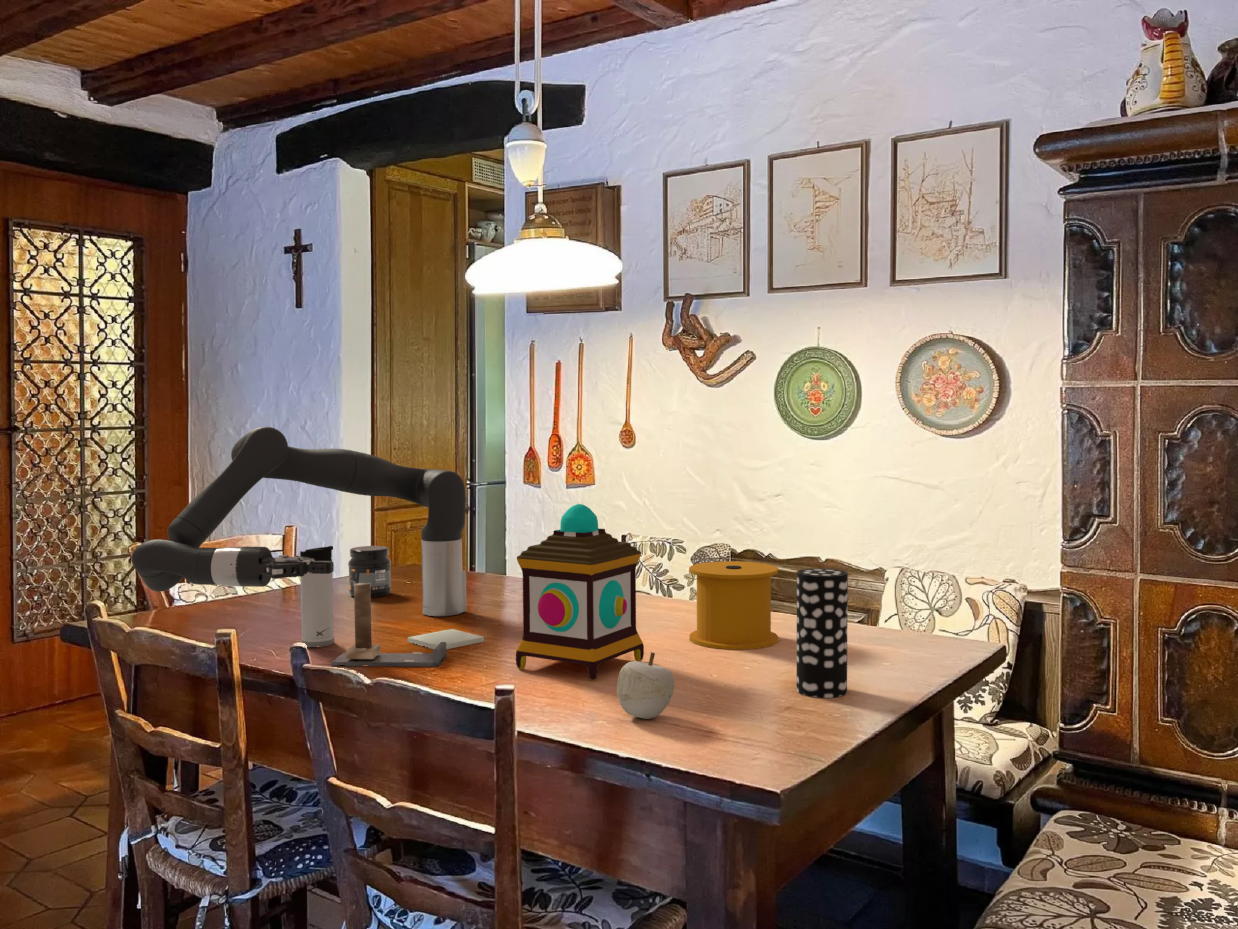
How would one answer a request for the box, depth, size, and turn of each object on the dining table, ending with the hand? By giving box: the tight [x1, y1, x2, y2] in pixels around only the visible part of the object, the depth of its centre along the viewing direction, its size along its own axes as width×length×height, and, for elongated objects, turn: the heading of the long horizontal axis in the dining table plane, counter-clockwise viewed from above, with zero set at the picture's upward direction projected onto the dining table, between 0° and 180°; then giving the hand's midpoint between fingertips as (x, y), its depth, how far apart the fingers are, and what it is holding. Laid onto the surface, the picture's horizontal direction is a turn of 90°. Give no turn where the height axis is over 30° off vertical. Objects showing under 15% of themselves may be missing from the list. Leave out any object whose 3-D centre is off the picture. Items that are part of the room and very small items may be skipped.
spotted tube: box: [796, 567, 849, 699], centre depth 175 cm, size 8×8×20 cm
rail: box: [331, 642, 448, 668], centre depth 198 cm, size 20×7×3 cm, turn 87°
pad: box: [407, 628, 485, 650], centre depth 214 cm, size 11×11×1 cm
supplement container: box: [347, 545, 392, 598], centre depth 267 cm, size 10×10×12 cm
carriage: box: [345, 583, 382, 659], centre depth 197 cm, size 5×5×14 cm
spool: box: [688, 560, 779, 650], centre depth 214 cm, size 18×18×15 cm
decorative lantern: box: [515, 503, 645, 682], centre depth 193 cm, size 20×20×30 cm
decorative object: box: [616, 651, 676, 720], centre depth 161 cm, size 9×9×10 cm
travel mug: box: [299, 545, 335, 648], centre depth 212 cm, size 6×7×20 cm
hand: (332, 567), depth 197 cm, fingers closed
